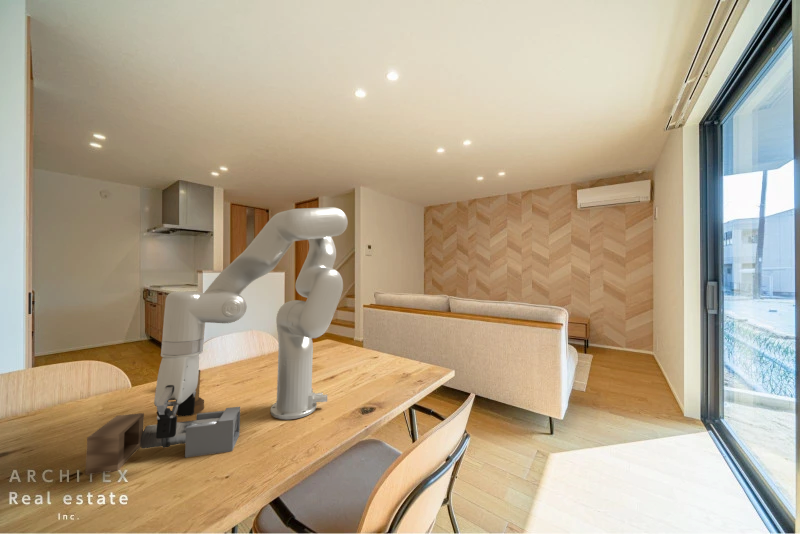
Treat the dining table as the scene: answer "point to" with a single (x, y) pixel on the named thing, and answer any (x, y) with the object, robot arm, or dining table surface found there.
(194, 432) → the sleeve
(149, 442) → the slip tube
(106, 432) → the socket block
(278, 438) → the dining table surface
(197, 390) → the brown wooden upright piece
